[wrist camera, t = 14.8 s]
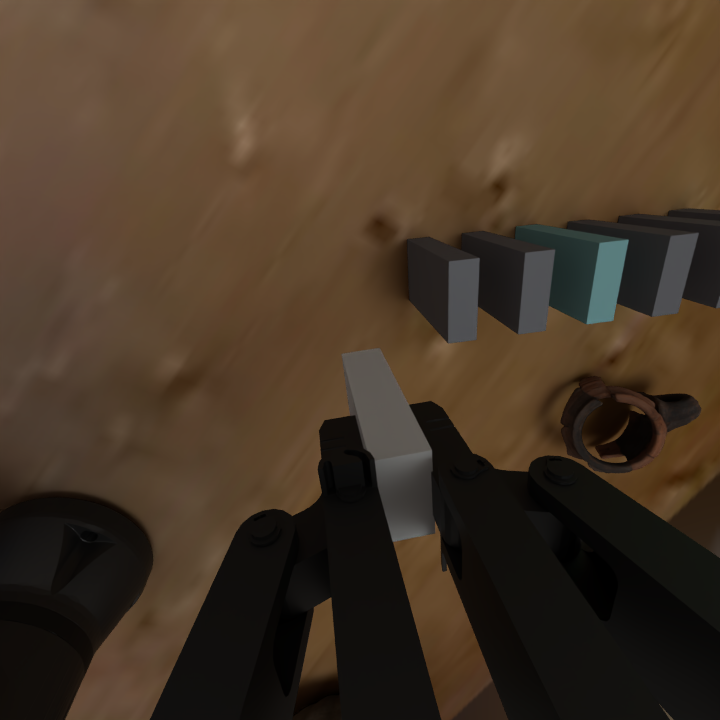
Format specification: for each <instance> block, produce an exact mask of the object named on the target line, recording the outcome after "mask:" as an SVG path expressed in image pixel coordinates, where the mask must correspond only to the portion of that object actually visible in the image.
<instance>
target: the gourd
mask: <svg viewBox="0 0 720 720" xmlns="http://www.w3.org/2000/svg"><path fill="white" fill-rule="evenodd" d="M292 720H342V717H341V705H340V694H339V695H330V696H326V697H325V698H323V699H321V700H320V701H319V702H317V703H316V704H312V705H309V706H307V707H306V708H304V709H303V710H301V711H300V712H299V713H297V714H296V715H294V716H293V718H292Z"/></svg>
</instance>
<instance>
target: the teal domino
mask: <svg viewBox="0 0 720 720" xmlns="http://www.w3.org/2000/svg"><path fill="white" fill-rule="evenodd" d="M515 239H517V240H520V241H524V242H528V243H532V244H536V245H540V246H544V247H548V248H552V249H555V255H554V264H553V272H552V280H551V289H550V297H549V306H551V307H553V308H555V309H557V310H559V311H561V312H563V313H565V314H567V315H569V316H571V317H573V318H575V319H577V320H579V321H581V322H583V323H585V324H592V323H599V322H607V321H613V318H614V313H615V308H616V303H617V298H618V292H619V287H620V282H621V277H622V272H623V267H624V261H625V256H626V251H627V246H628V241H629V240H628V239H622V238H616V237H610V236H604V235H598V234H592V233H586V232H580V231H574V230H568V229H562V228H556V227H550V226H544V225H538V224H535V225H526V226H516V231H515Z"/></svg>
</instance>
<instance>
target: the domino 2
mask: <svg viewBox="0 0 720 720" xmlns="http://www.w3.org/2000/svg"><path fill="white" fill-rule="evenodd" d="M462 251H464V252H467V253H469V254H471V255H474V256H476V257H479V258H480V262H479V287H478V307H480V308H481V309H483V310H484V311H486V312H487V313H488V314H490V315H491V316H493V317H494V318H496V319H497V320H498V321H500V322H501V323H503V324H504V325H506V326H507V327H508V328H510V329H511V330H513V331H514V332H516V333H517V334H524V333H532V332H539V331H546V322H547V314H548V306H549V297H550V289H551V280H552V272H553V264H554V255H555V249H552V248H548V247H544V246H540V245H536V244H532V243H528V242H524V241H520V240H517V239H513V238H509V237H505V236H501V235H497V234H493V233H489V232H485V231H479V232H470V233H462Z"/></svg>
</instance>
